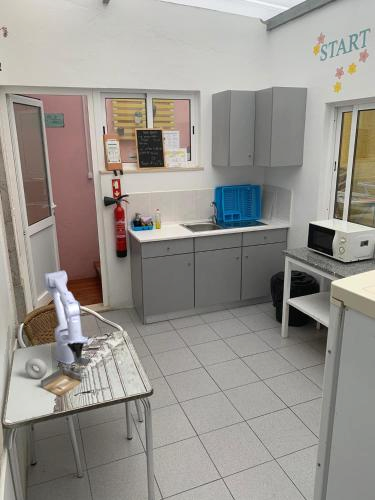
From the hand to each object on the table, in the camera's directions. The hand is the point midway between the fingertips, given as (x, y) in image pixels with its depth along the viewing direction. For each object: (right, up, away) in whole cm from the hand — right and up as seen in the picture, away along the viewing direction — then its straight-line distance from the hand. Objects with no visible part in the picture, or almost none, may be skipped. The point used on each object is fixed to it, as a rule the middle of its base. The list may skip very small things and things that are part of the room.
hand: (77, 356), depth 173 cm
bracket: (+2, -3, 0) cm, 4 cm away
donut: (-18, -10, +1) cm, 21 cm away
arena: (-5, -11, -5) cm, 13 cm away
